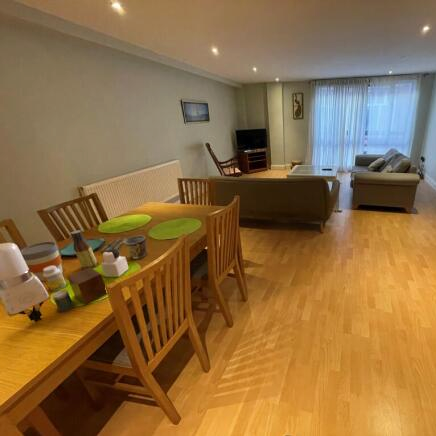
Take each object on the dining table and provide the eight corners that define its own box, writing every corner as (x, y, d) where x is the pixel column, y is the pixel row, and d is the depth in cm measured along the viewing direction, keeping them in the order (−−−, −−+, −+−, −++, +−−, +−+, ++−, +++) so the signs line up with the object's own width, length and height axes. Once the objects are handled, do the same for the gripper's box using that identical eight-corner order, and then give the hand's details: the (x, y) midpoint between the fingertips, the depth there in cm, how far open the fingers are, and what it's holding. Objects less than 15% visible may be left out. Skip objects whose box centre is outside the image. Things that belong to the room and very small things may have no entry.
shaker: (69, 314, 95) (46, 310, 88) (64, 310, 97) (41, 306, 90) (83, 295, 98) (61, 290, 91) (78, 291, 100) (56, 286, 93)
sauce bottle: (92, 261, 126) (80, 227, 119) (100, 264, 124) (88, 229, 116) (78, 268, 120) (64, 233, 113) (86, 271, 118) (72, 235, 111)
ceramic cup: (126, 255, 132) (121, 239, 128) (146, 249, 138) (142, 233, 134) (132, 265, 123) (127, 248, 119) (153, 257, 130) (149, 241, 126)
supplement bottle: (52, 285, 108) (43, 266, 104) (68, 281, 110) (60, 263, 107) (47, 292, 103) (38, 273, 100) (64, 289, 106) (55, 269, 102)
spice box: (86, 304, 97) (77, 284, 93) (75, 296, 101) (66, 276, 98) (108, 293, 103) (101, 273, 99) (96, 285, 108) (89, 267, 104)
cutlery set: (75, 242, 146) (73, 239, 145) (129, 238, 151) (128, 235, 150) (51, 260, 128) (49, 256, 127) (113, 254, 133) (112, 250, 132)
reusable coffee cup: (24, 281, 111) (9, 253, 105) (53, 266, 122) (41, 240, 116) (47, 284, 109) (34, 255, 103) (74, 268, 120) (63, 242, 115)
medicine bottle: (115, 268, 121) (108, 247, 116) (129, 268, 120) (122, 247, 116) (104, 276, 114) (96, 255, 109) (119, 277, 114) (111, 255, 109)
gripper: (-15, 294, 74) (11, 338, 80) (48, 270, 86) (67, 310, 93) (-22, 287, 77) (4, 329, 84) (40, 264, 89) (58, 303, 96)
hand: (37, 319), depth 88 cm, fingers closed
